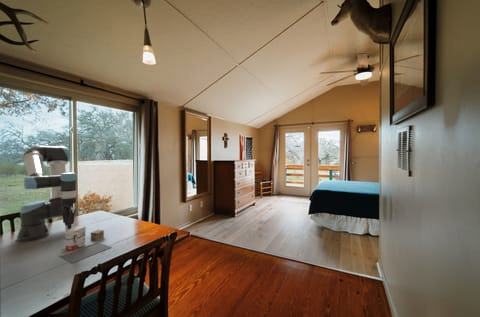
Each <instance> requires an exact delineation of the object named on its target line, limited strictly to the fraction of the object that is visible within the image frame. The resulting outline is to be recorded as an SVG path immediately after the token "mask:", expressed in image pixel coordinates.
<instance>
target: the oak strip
mask: <svg viewBox="0 0 480 317" xmlns="http://www.w3.org/2000/svg"><path fill="white" fill-rule="evenodd" d="M97 243H98V241H95V242H93V243H89V244H87V245H84V246H81V247H79V248H77V249H75V250H73V251H70V250H69V251H68V252H65V253H62V254H61V255H62V256H63V255H66V254H69V253H72V252H74V251H77V250H80V249H83V248H85V247H88V246H91V245H94V244H97Z"/></svg>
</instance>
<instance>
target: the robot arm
mask: <svg viewBox="0 0 480 317" xmlns="http://www.w3.org/2000/svg"><path fill="white" fill-rule="evenodd" d="M22 156H23V157H22V158H23V162H24V163H26V164H25V165H26V172H27V176H26V177H24V179H23V188H24V189H26V190H38V189H39V190H40V189H46V188H50V191H51V197H50V198H49V199H48V201H47V202H46V201H45V200H35V201H31V202H27V203H25V204H23V205H22V206H21V207H20V212H19V214H20V228H19V230H18V233H17V236H16V241H18V242H29V241H35V240H39V239H42V238H44V237H47V236H48V235H49V234H50V230H49V227H48V226H47V224H46V220H49V219H56V218H60V217H62V221H63V222H62V223H63V224H64V225H65V226H64V230H65V232H64V236H66V231H67V230H68V229H71V228H73V226H72V225H73V224H74V223H75V216H76V212H77V209H75V208H74V204H76V203H77V173H76V172H67V170H66V169H67V168H66V165H68V163H69V162H70V160H71V154H70V151H69V149H68V147H66V146H60V145H59V146H57V145H54V146H53V145H51V146H50V145H37V146H36V145H35V146H33V147H30V148H28V149H27V150H26V151H25V152H24V154H23V155H22ZM43 162H46V164H47V165H48V166H49V168H50V169H49V172H50V175H46V174H45V169H44V165H43Z"/></svg>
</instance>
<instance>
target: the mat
mask: <svg viewBox="0 0 480 317" xmlns="http://www.w3.org/2000/svg"><path fill="white" fill-rule="evenodd" d="M97 242H98V241H97ZM110 249H112V247H111V246H110V245H107V244H104V243H102V242H98V243H97V244H94V245H91V246H88V247H85V248H83V249H80V250H77V251H74V252H72V253H69V254H66V255H63V256H62V254H61V255H59V256H58V257H59V258H61V260H62V259H63V260H64V261H66V262H68V263H70V264H74V263H77V262H79V261H82V260H84V259H86V258H89V257H91V256H94V255H96V254H99V253H102V252H105V251H106V250H110Z"/></svg>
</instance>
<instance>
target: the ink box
mask: <svg viewBox="0 0 480 317" xmlns="http://www.w3.org/2000/svg"><path fill="white" fill-rule="evenodd" d="M84 246H86V226H85V225H84V226H83V225H78V226H74V227H72V228H71V229H68V230H67V231H66V235H65V251H69V252H70V251H73V250H76V249H78V248H81V247H84Z"/></svg>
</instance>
